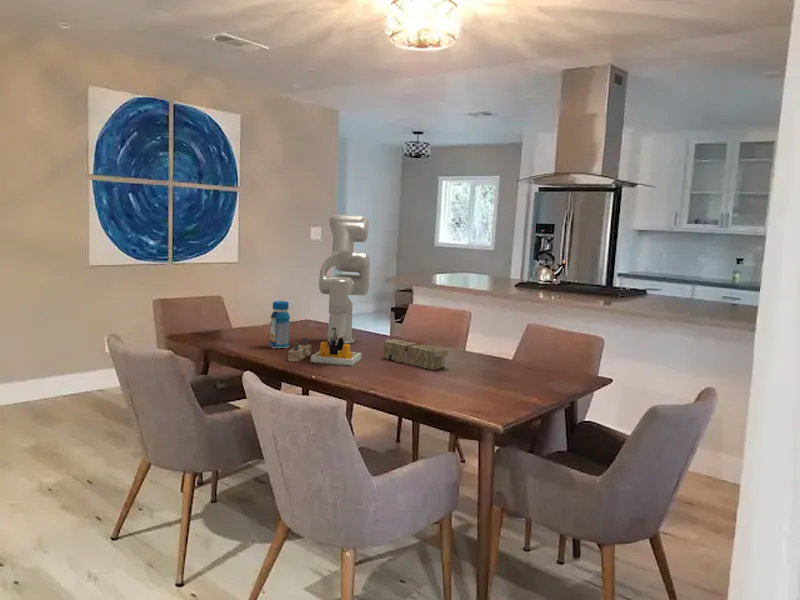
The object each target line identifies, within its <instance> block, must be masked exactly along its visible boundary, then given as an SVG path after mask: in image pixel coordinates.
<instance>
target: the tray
mask: <svg viewBox="0 0 800 600" xmlns="http://www.w3.org/2000/svg"><path fill="white" fill-rule="evenodd" d="M338 352H341V351H338ZM351 352H352V351H351ZM360 360H362V352H355V351H353V352H352V359H344V358H333V357H321V356H320V350H319V351H317V352H316V353H313V354H312V355H311V356H310V363H312V362H314V363H315V364H324V363H326V364H325V365H335V364H337V365H338V366H346V365H348V366H349V367H353V366H354V365H355V364H357V363H358V362H359V361H360ZM356 362H357V363H356ZM337 365H336V366H337Z"/></svg>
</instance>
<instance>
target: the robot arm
mask: <svg viewBox="0 0 800 600" xmlns="http://www.w3.org/2000/svg"><path fill="white" fill-rule="evenodd" d="M369 223H370V222H369V219H368V218H367V217H366V216H364V215H353V214H334V215H332V216H330V217H329V224H328V225H329V228H330V231H331V233H332V246H331V254H330V255H329V256H328V257H327V258H326V259H324V261H323V263H322V265H321V266H320V270H319V277H318V278H319V279H318V289H319V291H320V293H321V294H323V295H328V297H329V299H328V313H329V317H328V325H327V326H328V327H327V342H329V348H330V355H338V351H341V350H342V349H343V345H345V344H348V345H350V344H354V343H355V341H356V340H355V338H352V336H353V335H352V333H353V332H352V330H353V308H354V306H353V302H352V301H351V299H350V298H349V296H366V295H367V294H368V293H369V290H370V289H369V287H370V257H369V254H368V253H367V252H364V251H355V250H354V248H355V243H365V242H366V241H367V240H368V236H369V228H370V227H369ZM333 267H334V268H335V269H336V270H337V271H338V272H344V273H339V274H335V275H327V273H328V272H329V270H330V269H331V268H333ZM346 272H347V273H358V274H347V273H346Z"/></svg>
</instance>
